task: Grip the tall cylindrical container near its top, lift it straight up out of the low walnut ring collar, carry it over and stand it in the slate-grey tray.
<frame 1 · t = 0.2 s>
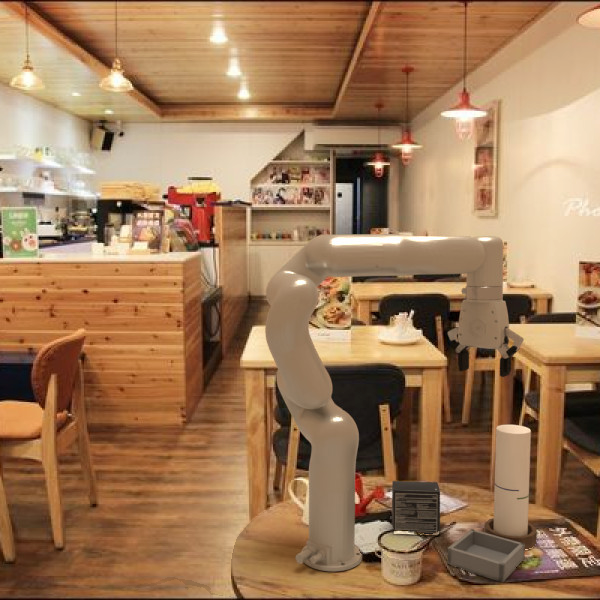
hand: (483, 372, 147), 37 cm above the table, tool pointing down, fingers open, 9 cm apart
small box: (415, 530, 155), on the table
cylindrical container: (510, 541, 149), resting in collar
collar: (510, 540, 149), on the table
tray: (486, 562, 139), on the table
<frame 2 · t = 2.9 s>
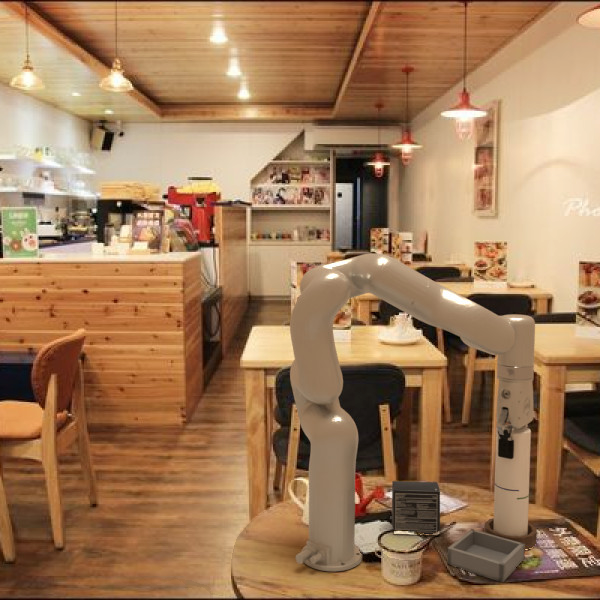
hand: (512, 452, 147), 20 cm above the table, tool pointing down, fingers closed on cylindrical container, 7 cm apart
cylindrical container: (510, 541, 149), resting in collar, touching gripper
everything else where it was.
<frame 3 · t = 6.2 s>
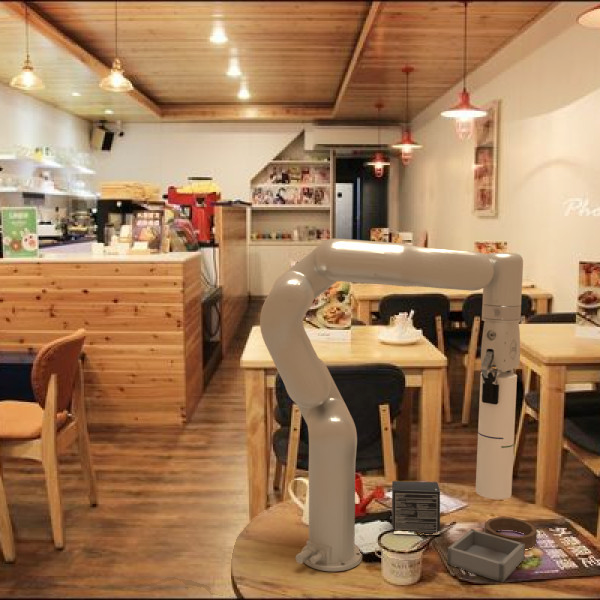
hand: (497, 399, 139), 33 cm above the table, tool pointing down, fingers closed on cylindrical container, 7 cm apart
cylindrical container: (493, 493, 141), point 13 cm above the table, touching gripper
everything else where it was.
when the fingers open (22 cm above the table, at t = 9.5 s): cylindrical container drops 1 cm, resting on tray.
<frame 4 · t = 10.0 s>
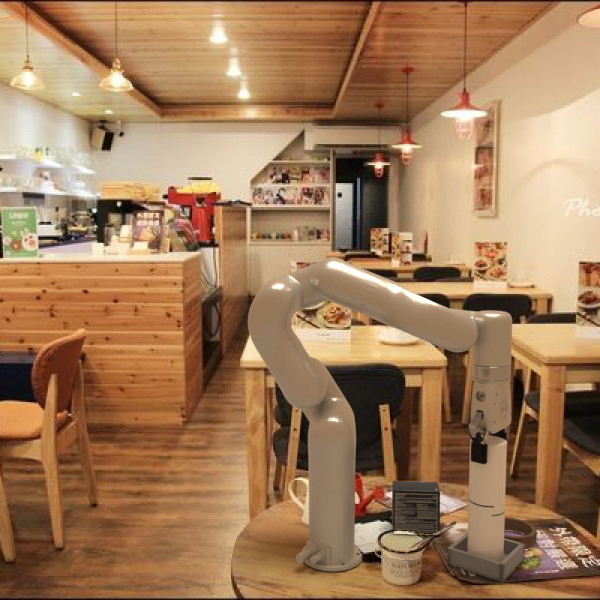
hand: (488, 456, 137), 22 cm above the table, tool pointing down, fingers open, 9 cm apart
cylindrical container: (485, 560, 139), resting on tray
everything else where it was.
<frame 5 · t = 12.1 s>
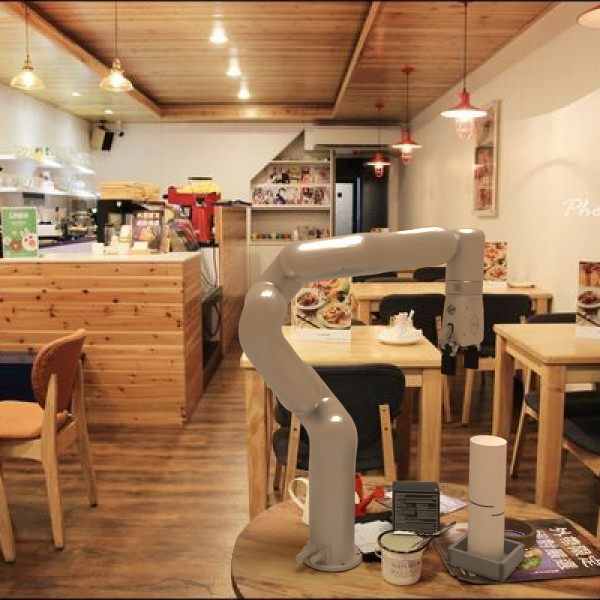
hand: (459, 371, 140), 39 cm above the table, tool pointing down, fingers open, 9 cm apart
nothing on the table moved.
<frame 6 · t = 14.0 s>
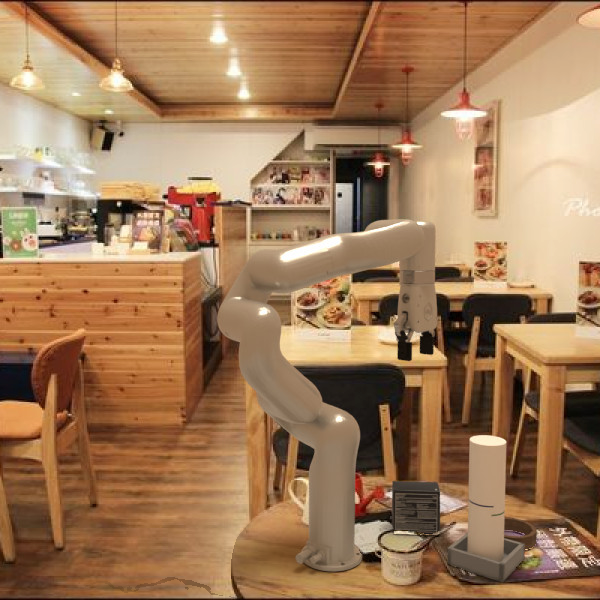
hand: (415, 357, 148), 40 cm above the table, tool pointing down, fingers open, 9 cm apart
nothing on the table moved.
at the end: cylindrical container 0.2 cm off-centre on the tray, point 0.4 cm above the tray's base; cylindrical container tilted 0°; the gripper is holding nothing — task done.
